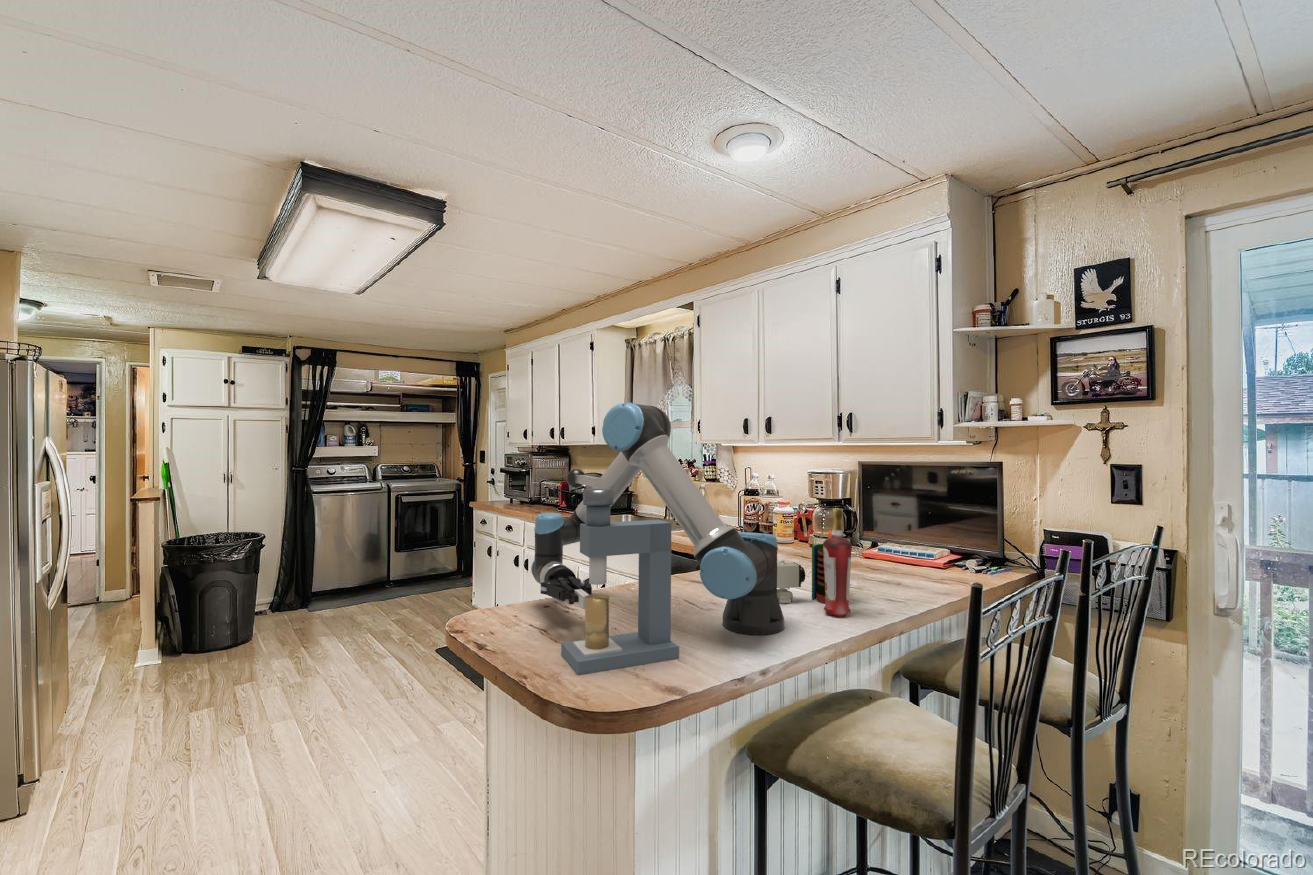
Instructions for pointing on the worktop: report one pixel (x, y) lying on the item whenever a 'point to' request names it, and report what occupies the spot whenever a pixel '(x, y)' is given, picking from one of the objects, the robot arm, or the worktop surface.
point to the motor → (818, 572)
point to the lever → (591, 495)
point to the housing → (596, 621)
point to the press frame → (652, 597)
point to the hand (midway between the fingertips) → (586, 602)
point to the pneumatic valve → (788, 579)
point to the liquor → (837, 569)
